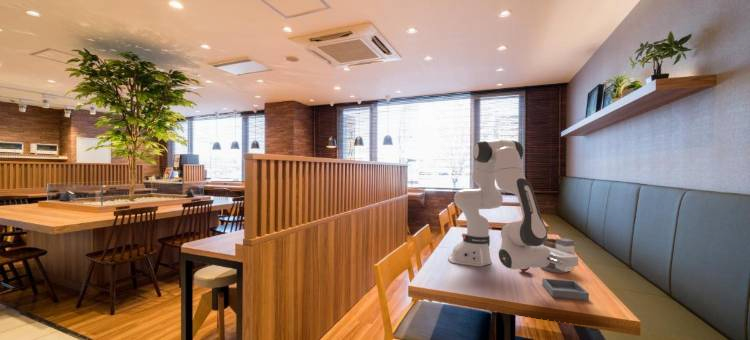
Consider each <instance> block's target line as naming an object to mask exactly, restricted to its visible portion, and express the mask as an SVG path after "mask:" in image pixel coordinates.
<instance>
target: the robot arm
mask: <svg viewBox="0 0 750 340" xmlns="http://www.w3.org/2000/svg"><path fill="white" fill-rule="evenodd" d="M472 155H473V158H474V160H475V164H474V167H473V171H472V175H471V178H472V181H473V183H475V184H476V185H477V186H478V187H479V188H463V189H459V190H457V191H456V192H455V194H454V196H453V201H454V204H455V206H456V207H457V208H458V209H460V210H461V211H462V213H463V215H464V217H465V221H466V233H465V232H464V233H462V234H461V237H462V241H460V242H459V243H457V244H456V245H455V246H453V249H452V253H450V254H449V255H448V256H447V257H448V258H447V260H448V262H450V263H452V264H457V265H458V264H459V265H463V266H464V265H465V266H472V267H473V266H474V267H479V268H480V267H484V266H486V265H491V264H492V258H491V253H490V243H491V237H490V235H489V234H490V226H489V225H490V223H489V220H488V219H487V218H486V217H484V216H483V215H481V214H480V212H479V211H480V210H493V209H497V208H500V207H501V206H502V204H503V201H504V198H503V194H502V193H501V191H499V190H498V188H499V189H500V190H502V191H504V192H506V193H509V194H510V193H511V194H513V195H515V196H516V197H517V199H518V202H519V203H518V204H519V206H520V210H521V215H522V219H521V220H518V221H512V222H507V223H506V224H504V225H503V226H502V228H501V231H500V237H501V246H500V248H499V250H498V258H499V261H500V263H501V264H502V265H503V266H504V267H506V268H507V269H512V270H520V269H527V268H529V267H530V268H532V269H533V268H534V269H536V268H537V269H538V268H540V267H546V266H548V265H549V263H550V262H551V263H553V264H556V265H559V266H564V267H572V266H574V267H578V266H579V257H578V255H575V252H574V253H566V252H563V251H560V250H556V249H554V248H550V247H547V246H544V245H543V243H544V242H545V241H546V238H547V237H548V229H547V227H546V224H545V223H544V220H543V218H542V215H541V213H540V209H539V206H538V202H537V198H536V196H535V191H534V188H533V186H532V184H531V182H530V181H529V180H527V179H526V176H525V174H524V166H523V163H522V158H523V155H524V147H523V144H522V143H521V142H519V141H516V140H507V139H490V140H486V139H481V140H478V141H476V142H475V144H474V146H473V149H472ZM496 184H497V187H498V188H497V187H496ZM530 268H529V269H530Z"/></svg>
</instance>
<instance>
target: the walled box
mask: <svg viewBox="0 0 750 340" xmlns="http://www.w3.org/2000/svg"><path fill="white" fill-rule="evenodd" d="M541 280H542V283H541V286H542V287H543V288H544V289H545V290H546V292H548V294H549V296H551V298H553V299H565V300H574V301H575V300H576V301H585V300H586V302H589V299H590V293H589V292H588V291H587V290H586V289H585V288H584V287H583V286H581V285H580V284H579V283H578V282H577V281H576V280H570V279H558V278H557V279H556V278H543V277H542V278H541Z"/></svg>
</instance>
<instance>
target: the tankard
mask: <svg viewBox="0 0 750 340" xmlns="http://www.w3.org/2000/svg"><path fill="white" fill-rule="evenodd" d="M556 239H557V238H549V237H548V236H547V238H546V241H545V242H544V243H543V245H544V246H547V247H550V248H554V249H556ZM539 268H540V269H541V270H543V271H547V272H549V273H553V274H554V273H556V274H566V273H568V271H562V270H560V269H557V268H556V264H553V263H551V262H550V263H549V265H548V266H546V267H539Z"/></svg>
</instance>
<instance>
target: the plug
mask: <svg viewBox="0 0 750 340" xmlns="http://www.w3.org/2000/svg"><path fill="white" fill-rule="evenodd" d="M555 239H556V250H560V251H563V252H566V253H574V254H575V240H573V239H570V238H565V237H563V238H555ZM556 268H557V269H560V270H562V271H569V272H571V271H572V272H573V271H575V266H572V267H564V266H559V265H556Z"/></svg>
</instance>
